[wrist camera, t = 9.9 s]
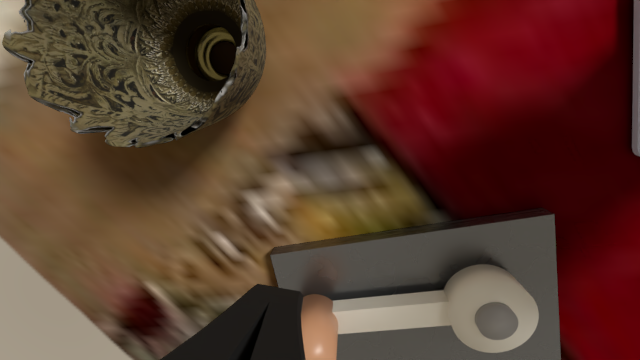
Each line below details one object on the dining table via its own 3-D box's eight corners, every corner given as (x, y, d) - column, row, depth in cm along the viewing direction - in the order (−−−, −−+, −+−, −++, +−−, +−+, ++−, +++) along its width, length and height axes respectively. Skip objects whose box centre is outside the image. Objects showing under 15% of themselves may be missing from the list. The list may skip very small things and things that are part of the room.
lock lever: (522, 327, 16) (572, 392, 13) (301, 343, 18) (288, 405, 15) (519, 260, 16) (572, 309, 12) (288, 284, 17) (270, 334, 14)
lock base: (542, 207, 16) (556, 215, 15) (554, 434, 20) (567, 455, 18) (266, 248, 19) (260, 258, 17) (318, 445, 22) (316, 464, 21)
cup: (286, 138, 17) (229, 166, 9) (160, 119, 17) (5, 131, 10) (302, -13, 15) (247, -138, 7) (159, -28, 16) (-33, -161, 8)
